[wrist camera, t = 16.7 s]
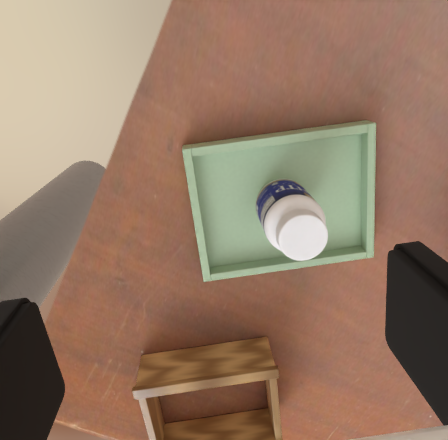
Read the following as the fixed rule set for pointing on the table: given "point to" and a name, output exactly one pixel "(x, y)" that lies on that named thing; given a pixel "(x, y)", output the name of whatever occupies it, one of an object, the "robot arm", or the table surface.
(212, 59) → the table surface
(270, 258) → the tray
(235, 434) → the wooden box
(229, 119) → the table surface
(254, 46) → the table surface
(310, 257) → the pill bottle
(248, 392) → the table surface
